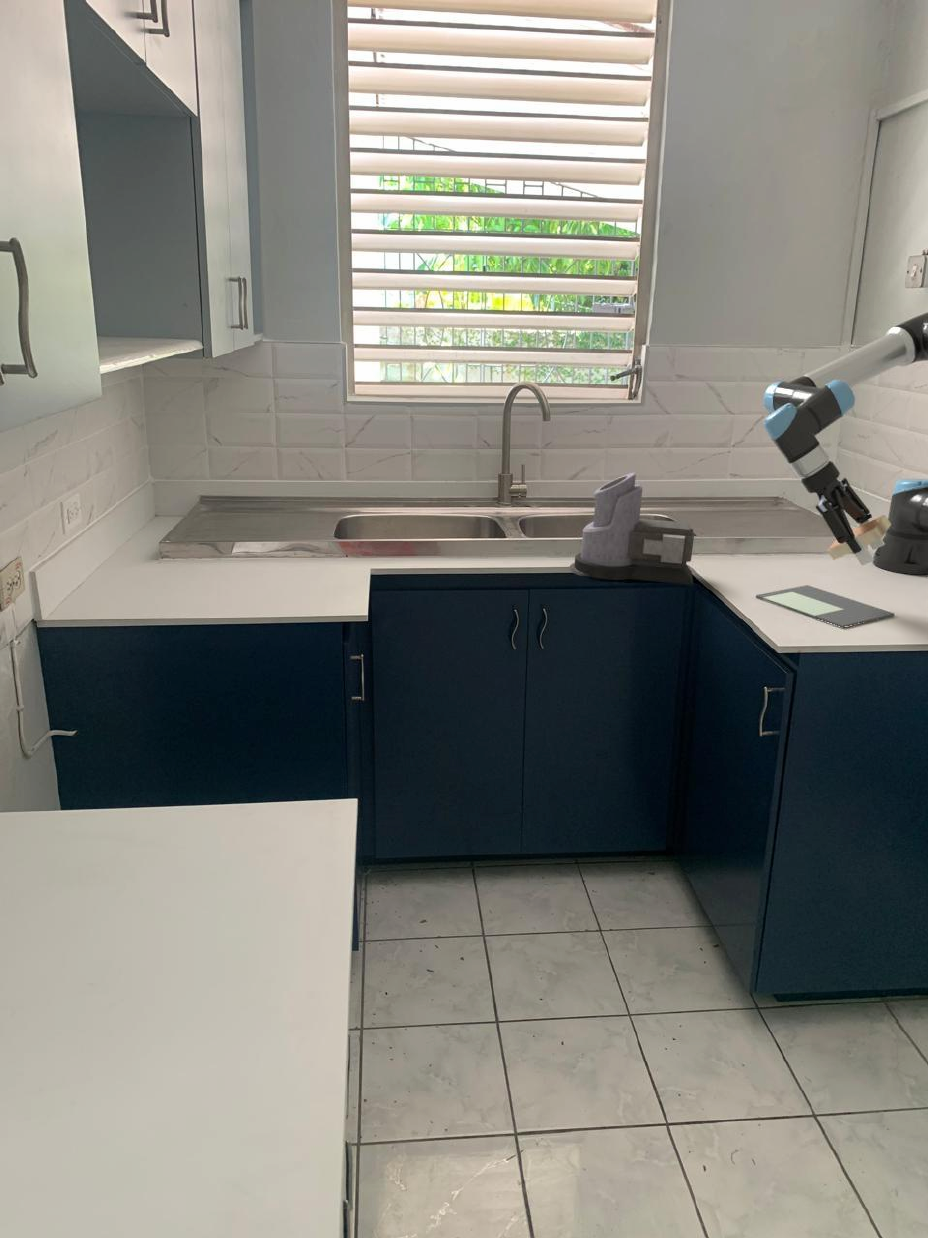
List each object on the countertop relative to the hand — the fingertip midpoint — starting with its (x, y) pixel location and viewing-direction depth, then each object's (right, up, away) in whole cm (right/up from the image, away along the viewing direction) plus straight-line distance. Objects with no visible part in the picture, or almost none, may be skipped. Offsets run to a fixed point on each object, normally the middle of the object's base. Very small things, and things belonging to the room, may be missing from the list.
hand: (873, 554), depth 206 cm
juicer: (-50, -3, +23) cm, 55 cm away
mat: (-10, -11, +3) cm, 15 cm away
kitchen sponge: (-3, +4, 0) cm, 5 cm away
